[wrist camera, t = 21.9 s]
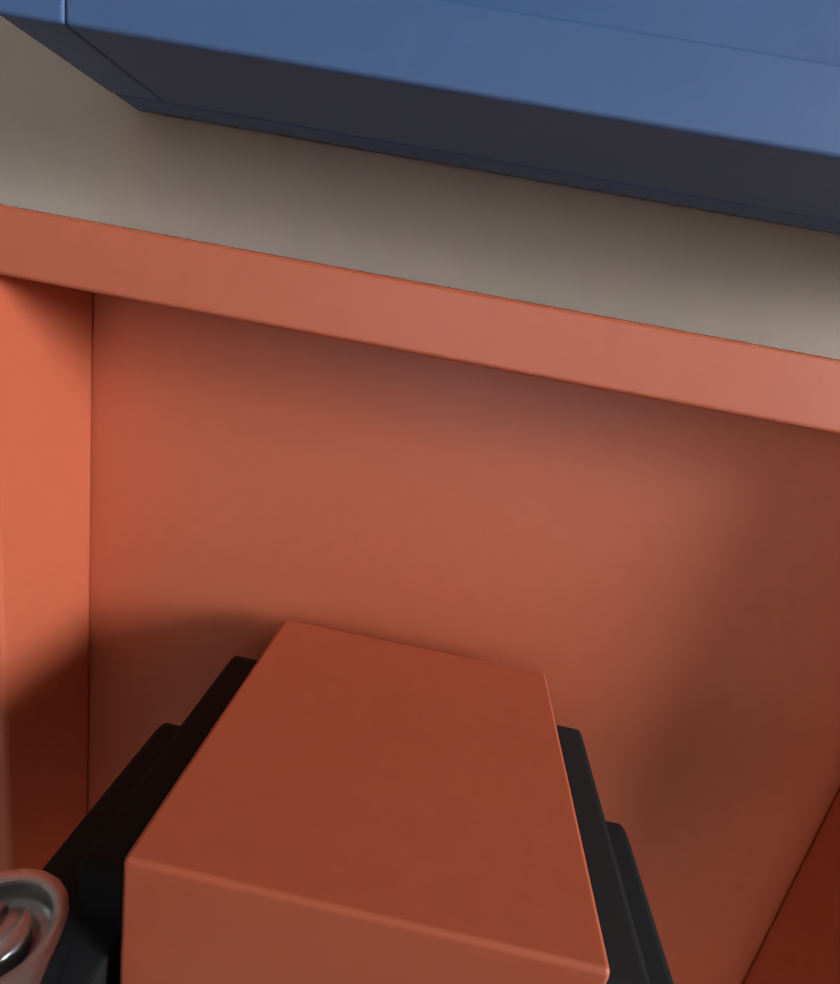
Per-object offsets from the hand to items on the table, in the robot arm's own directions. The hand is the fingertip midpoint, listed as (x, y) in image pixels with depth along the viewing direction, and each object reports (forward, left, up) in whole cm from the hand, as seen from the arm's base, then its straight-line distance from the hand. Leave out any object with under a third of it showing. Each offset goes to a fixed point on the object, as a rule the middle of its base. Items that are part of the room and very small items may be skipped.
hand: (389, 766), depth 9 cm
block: (0, 0, 0) cm, 0 cm away
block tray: (+1, 0, -1) cm, 2 cm away
